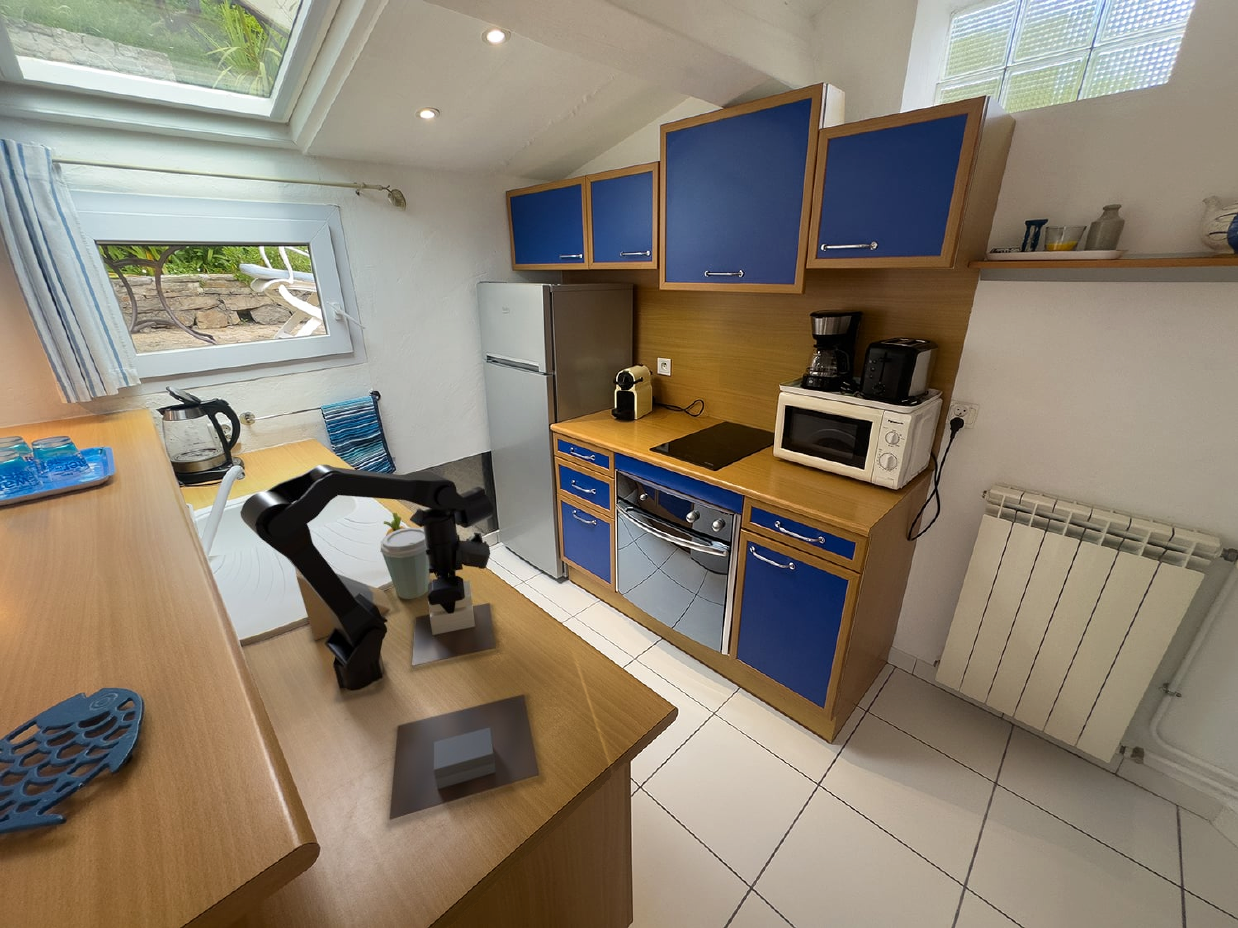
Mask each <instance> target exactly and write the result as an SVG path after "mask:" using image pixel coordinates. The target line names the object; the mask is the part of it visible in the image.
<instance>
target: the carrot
mask: <svg viewBox="0 0 1238 928" xmlns="http://www.w3.org/2000/svg"><path fill="white" fill-rule="evenodd" d="M392 517H393V520H392V521H391V522H390V521H386V520H385V521H383V524H384V525H387V526H388V527H389V529H388V530H387V532H386V534H385V537H386V536H387V535H388V534H389V533H391V532H394V531H397V530H399V529H405V528H406V527H404V526H402V525H401V521H402V517H401V516H399V515H398V513H397V512H393V513H392Z"/></svg>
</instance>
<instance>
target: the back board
mask: <svg viewBox="0 0 1238 928" xmlns="http://www.w3.org/2000/svg"><path fill="white" fill-rule="evenodd" d="M473 614H474V625H475V626H474V627H470V628H465V629H460V630H455V631H450V632H445V633H440V634H435V635H433V633H432V627H431V621H430V613H428V614H424V615H418V616H415V617H414V629H413V630H414V631H413V644H412V645H413V647H412V659H411V661H412V662H411V667H414V666H420V665H424V664H428V663H433V662H438V661H442V660H448V659H451V658H452V659H453V658H456V657H457V658H458V657H460V656H466V655H471V654H475V653H480V652H484V651H489V650H493V649H496V648H497V646H496V640H495V632H494V624H493V617H492V611H491V604H490V602H487V603H482V604H477V605H473Z"/></svg>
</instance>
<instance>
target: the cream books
mask: <svg viewBox="0 0 1238 928" xmlns="http://www.w3.org/2000/svg"><path fill="white" fill-rule="evenodd" d="M473 606H474V605H473V604H472V606H467V607H461V608H456V609H455V610H454V613H451V614H448V613H447V612H446V611H440V612H435V613H430V612H429V614H430V621H431V627H432V633H433V635H435V634H440V633H445V632H450V631H455V630H460V629H465V628H470V627H474V626H475V625H474V614H473Z"/></svg>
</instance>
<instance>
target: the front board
mask: <svg viewBox="0 0 1238 928" xmlns="http://www.w3.org/2000/svg"><path fill="white" fill-rule="evenodd" d="M486 728H491V736H492V745H493V754H494V763H495V773H492V774H488V775H485V776H481V777H478V778H475V779H471V780H468V781H464V782H461V783H457V784H454V785H450V786H447V787H444V788H440V789H437V785H436V780H435V775H434V742H436V741H440V740H444V739H448V738H452V737H455V736H459V735H463V734H467V733H471V732H474V731H478V730H482V729H486ZM537 760H538V759H537V755H536V750H535V744H534V739H533V735H532V729H531V724H530V718H529V714H528V709H527V703H526V698H525V694H520V695H516V696H512V697H508V698H503V699H499V700H496V701H495V700H494V701H492V702H487V703H483V704H480V705H479V704H478V705H476V706H472V707H468V708H463V709H459V710H455V711H452V712H447V713H443V714H439V715H435V716H431V717H426V718H423V719H418V720H414V721H410V722H407V723H403V724H399V725H397V730H396V743H395V754H394V764H393V765H394V766H393V775H392V788H391V799H390V809H389V820H393V819H396V818H397V819H398V818H401V817H404V816H406V815H411V814H414V813H417V812H420V811H424V810H427V809H431V808H433V807H437V806H440V805H444V804H447V803H450V802H453V801H456V800H460V799H463V798H466V797H471V796H474V795H477V794H480V793H483V792H487V791H489V790H493V789H496V788H500V787H503V786H506V785H510V784H514V783H517V782H520V781H523V780H526V779H530V778H533V777H536V776H540V773H539V765H538V761H537Z"/></svg>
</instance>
